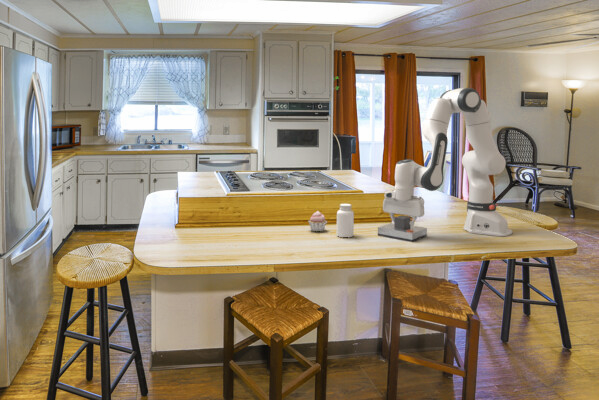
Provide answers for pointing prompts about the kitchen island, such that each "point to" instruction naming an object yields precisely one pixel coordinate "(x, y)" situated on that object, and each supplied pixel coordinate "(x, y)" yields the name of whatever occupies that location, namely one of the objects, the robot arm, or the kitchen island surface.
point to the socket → (402, 232)
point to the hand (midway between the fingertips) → (402, 223)
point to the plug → (402, 222)
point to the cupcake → (317, 222)
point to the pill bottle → (345, 221)
